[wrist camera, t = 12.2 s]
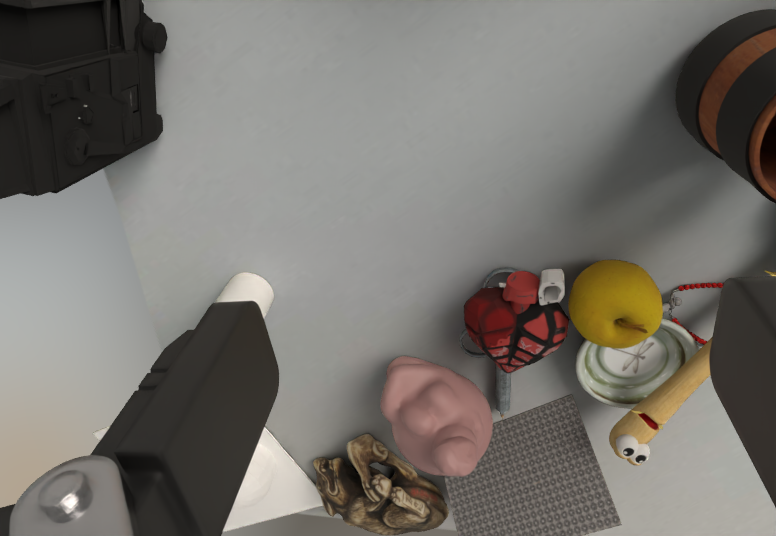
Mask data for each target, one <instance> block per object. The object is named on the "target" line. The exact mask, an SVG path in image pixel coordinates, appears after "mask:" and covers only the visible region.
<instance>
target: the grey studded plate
mask: <svg viewBox="0 0 776 536" xmlns="http://www.w3.org/2000/svg"><path fill="white" fill-rule="evenodd" d="M444 478H445V482H446V486H447V491H448V495H449V499H450V503H451V507H452V511H453V515H454V519H455V524H456V528H457V532H458V536H582V535H586V534H589V533H593V532H597V531H600V530H604V529H608V528H612V527H615V526H619V525H622V524H621V521H620V519H619V516H618V514H617V511H616V508H615V506H614V503H613V501H612V498H611V495H610V493H609V490H608V488H607V485H606V482H605V480H604V477H603V475H602V472H601V469H600V467H599V464H598V462H597V459H596V456H595V454H594V451H593V449H592V446H591V443H590V441H589V438H588V436H587V433H586V430H585V428H584V425H583V422H582V420H581V417H580V415H579V412H578V409H577V407H576V404H575V402H574V399H573V396H572V395H569V396H567V397H564V398H561V399H559V400H556V401H553V402H551V403H548V404H546V405H543V406H540V407H538V408H535V409H532V410H530V411H527V412H525V413H522V414H519V415H517V416H514V417H511V418H509V419H506V420H504V421H503V422H502V421H501V422H498V423H496V424H493V428H492V436H491V440H490V443H489V445H488V448H487V449H486V451H485V453H484V454H483V456H482V457H481V458H480V459H479V461H478V462H477V465H476V467H475V469H474V470H473V471H472V472H471V473H470V474H468V475H466V476H462V477H461V476H447V475H444Z"/></svg>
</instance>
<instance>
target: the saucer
mask: <svg viewBox="0 0 776 536" xmlns="http://www.w3.org/2000/svg"><path fill="white" fill-rule="evenodd" d="M698 351H699V349H698V346H697V344H696V342H695V340H694V339H693V337H692V336H691V335H690V334H689V333H688V332H687V331H686V330H685V329H684V328H683V327H681V326H680V325H678V324H677V323H675V322H672V321H670V320H668V319H665V318H662V320H661V324H660V326H659V328H658V330H657V331H656V332H655V333H654V334H653V335H651V336H650V337H649V338H647V339H645V340H644V341H642V342H640V343H639V344H637V345H635V346H632V347H629V348H624V349H616V348H609V347H603V346H599V345H596V344H594V343H591V342H590V341H588V340H587V339H585V340H584V341H583V343H582V344H581V346H580V348H579V350H578V352H577V355H576V360H575V370H576V375H577V378H578V380H579V382H580V384H581V386H582V387H583V388H584V389H585V391H586V392H587V393H588V394H590V395H591V396H592V397H593V398H595V399H597V400H598V401H600V402H603V403H605V404H607V405H611V406H614V407H619V408H629V409H633V408H634V407H635V406H636V405H637V404H639V403H640V402H641V401H642V400H643V399H645V398H646V397H647V396H648V395H649V394H651V393H652V392H653V391H654V390H655V389H657V388H658V387H659V386H660V385H662V384H663V383H664V382H665V381H666V380H667V379H668V378H670V377H671V376H672V375H673V374H674V373H675V372H677V371H678V370H679V369H680V368H681V367H682V366H683V365H684V364H685V363H686V362H687V361H688V360H689V359H690V358H691V357H692V356H693V355H695V354H696V353H697V352H698Z"/></svg>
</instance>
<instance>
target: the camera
mask: <svg viewBox="0 0 776 536" xmlns="http://www.w3.org/2000/svg"><path fill="white" fill-rule="evenodd" d="M166 41H167V33H166V29H165V27H164V25H163V24H161V23H156V22H153V20H152V19H150V18H149V17H148V16H147V15H146V14H145V13H144V4H143V3H142V1H141V0H0V199H2V198H6V197H9V196H12V195H16V194H19V193H22V194H26V195H31V196H34V195H36V196H38V195H42V194H45V193H48V192H52V193H58V192H59V191H62V190H63V189H65V188H67V187H69V186H71V185H72V184H75V183H77V182H78V181H80V180H82V179H84V178H86V177H88V176H90V175H91V174H93V173H95V172H97V171H99V170H101V169H103V168H104V167H106V166H108V165H110V164H112V163H114V162H116V161H117V160H119V159H121V158H123V157H125V156H127V155H129V154H130V153H132V152H134V151H136V150H138V149H140V148H142V147H144V146H145V145H147V144H149V143H151V142H153V141H155V140H157V138H158V137H159V136H160V134H161V133H162V131H163V120H162V117H161V115H159V114H156V91H155V67H154V52H158V53H161V52H162V51H163V50H164V49H165V46H166Z"/></svg>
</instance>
